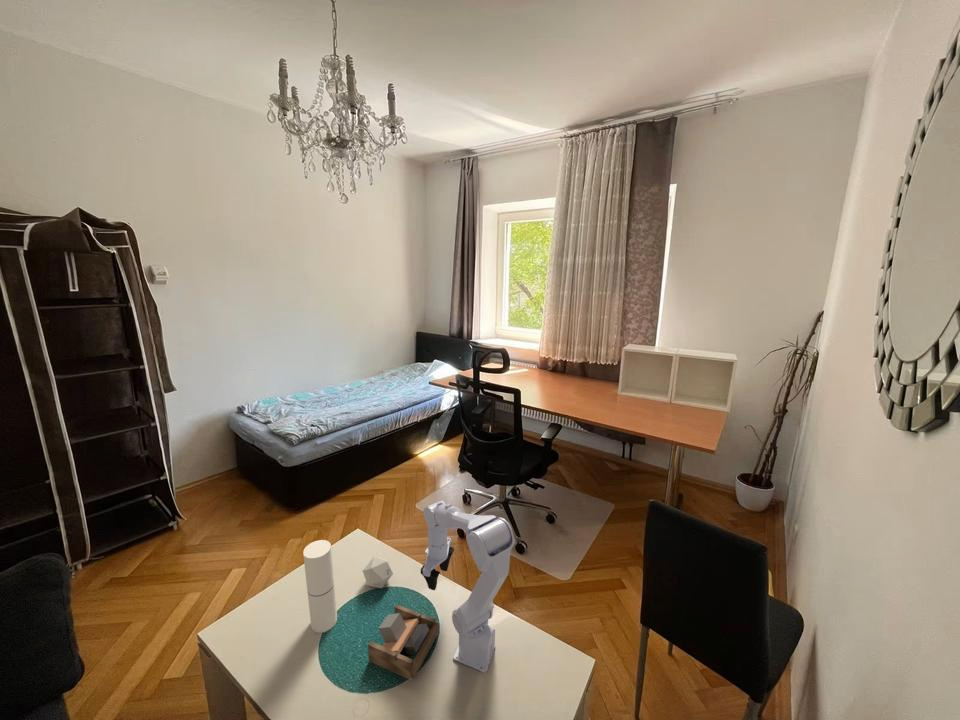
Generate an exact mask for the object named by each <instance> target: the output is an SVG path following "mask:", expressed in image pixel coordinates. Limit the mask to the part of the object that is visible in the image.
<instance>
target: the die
mask: <svg viewBox="0 0 960 720" xmlns="http://www.w3.org/2000/svg"><path fill="white" fill-rule="evenodd" d="M392 570H393V569H392V568H391V565H390V562H389V561H388V559H385V558H381V557H378V556H373V557H372V558H371V559H370V561H369V562H368V563H367V565H366V566H365V567H364V568H363V569H362V572H363V576H364V579H365V581H366V584H367V586H369V587H373V588H378V589H383V588H384V586H385V585H386V584H387V583H388V581H389V580H390V578H391V577H392V576H393V575H394V573H393V571H392Z"/></svg>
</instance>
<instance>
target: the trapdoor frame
mask: <svg viewBox="0 0 960 720" xmlns="http://www.w3.org/2000/svg"><path fill="white" fill-rule="evenodd" d="M397 613H400V615H401V617H402V619H403V620H409V619H418V621H419V623H418V624H427V626H428V628H429V631H428V633H427V635H426V637H425V639H424V640H423V642H422V644H421V646H420V647H419V649H418V651H417V653H416V655H415V657H414V658H413V659H412V658H410V657H408V656H405V655H403V654H401V653H400V654H399V653H398V652H394V651H392V650H389V649H387V648H385V647H383V645H380V644H378V643H375V642H373V641H372V640H370V641H369V643H367V650H368V653H367V654H368V662H371V663H372V664H375V665H377V666H379V667H381V668H383V669H385V670H387V671H390V672H391V673H393V674H397V675H399V676H401V677H403V678H405V679H407V680H409V681H412V680H413V678H416V675H417V674H418V672H419V669H420V668H421V666H422V664H423V663H424V660H425V659H426V657H427V656H428V654H429V651H430V650H431V648H432V646H433V644H434V642H435V640H436V638H437V636H439V635H438V634H439V633H440V623H439V622H437V621H436V619H435V618H433V617H431V616H427V615H425V614H424V613H422V612H421V613H420V612H417V611H415V610H413V609H410V608H407V607H404V606H401V605H400V604H395V605H394V614H397ZM418 624H417V625H418ZM416 627H417V626H416ZM416 627H415V628H416ZM414 630H415V629H414Z"/></svg>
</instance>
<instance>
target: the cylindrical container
mask: <svg viewBox="0 0 960 720" xmlns="http://www.w3.org/2000/svg"><path fill="white" fill-rule="evenodd" d="M332 553H333V552H332V544H331V543H330V541H328V540H326V539H319V540H315V541H312V542H310V543H308V544H307V545H306V546H305V547H304V549H303V553H302V554H303V563H304V572H305V580H306V581H305V582H306V590H307V600H308V608H309V618H310V627H311V630H312V631H313V632H314V633H319V634H321V633H327V632H328V631H330V630H331V629H332V628H333V627H334V626H335V625H336V623H337V620H338V613H337V601H336V591H335V590H336V589H335V588H336V587H335V578H334V566H333V565H334V564H333V554H332Z"/></svg>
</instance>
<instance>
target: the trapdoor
mask: <svg viewBox="0 0 960 720" xmlns="http://www.w3.org/2000/svg"><path fill="white" fill-rule="evenodd" d="M403 621H404V623H405V625H406V627H407V628H406V629H405V631H404V632H403V634H402V636H401V637H400V639H399V640H398V642H388V643H385V642H383V644H382V646H383V647H385V648H387V649H389V650H392V651H394V652H398V653H399V654H401V652H402V651H403V648H404V650H405V651H406V654H407V655H409V654H411V655H412V654H417V653H418V651H419V650H420V648H421V646H422V644H423V642H424V641H425V639H426V637H427V633H428V631H429V628H428V626H427V624H418V623H419V621H418V619H409V620H403ZM417 624H418V625H417ZM416 626H417V627H416ZM415 627H416V628H415ZM414 629H415V630H414Z"/></svg>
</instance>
